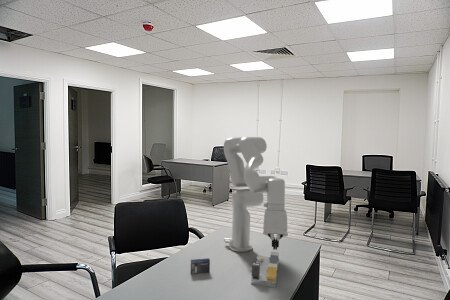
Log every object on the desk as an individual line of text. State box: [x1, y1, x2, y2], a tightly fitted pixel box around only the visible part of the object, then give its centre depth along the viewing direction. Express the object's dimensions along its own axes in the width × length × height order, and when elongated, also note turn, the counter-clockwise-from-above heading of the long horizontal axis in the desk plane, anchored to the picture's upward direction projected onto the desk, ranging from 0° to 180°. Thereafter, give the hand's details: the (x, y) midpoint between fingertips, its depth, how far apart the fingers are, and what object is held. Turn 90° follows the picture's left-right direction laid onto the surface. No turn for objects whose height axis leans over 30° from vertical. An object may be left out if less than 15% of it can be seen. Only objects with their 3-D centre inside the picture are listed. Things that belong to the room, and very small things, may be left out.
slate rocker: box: [268, 251, 280, 266], centre depth 139 cm, size 4×9×1 cm, turn 167°
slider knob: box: [251, 262, 260, 277], centre depth 125 cm, size 3×3×5 cm
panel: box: [250, 255, 280, 288], centre depth 133 cm, size 10×24×4 cm, turn 167°
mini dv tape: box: [190, 257, 211, 275], centre depth 131 cm, size 8×2×6 cm, turn 105°
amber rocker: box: [267, 263, 278, 281], centre depth 127 cm, size 4×9×1 cm, turn 167°
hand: (275, 248), depth 130 cm, fingers closed
